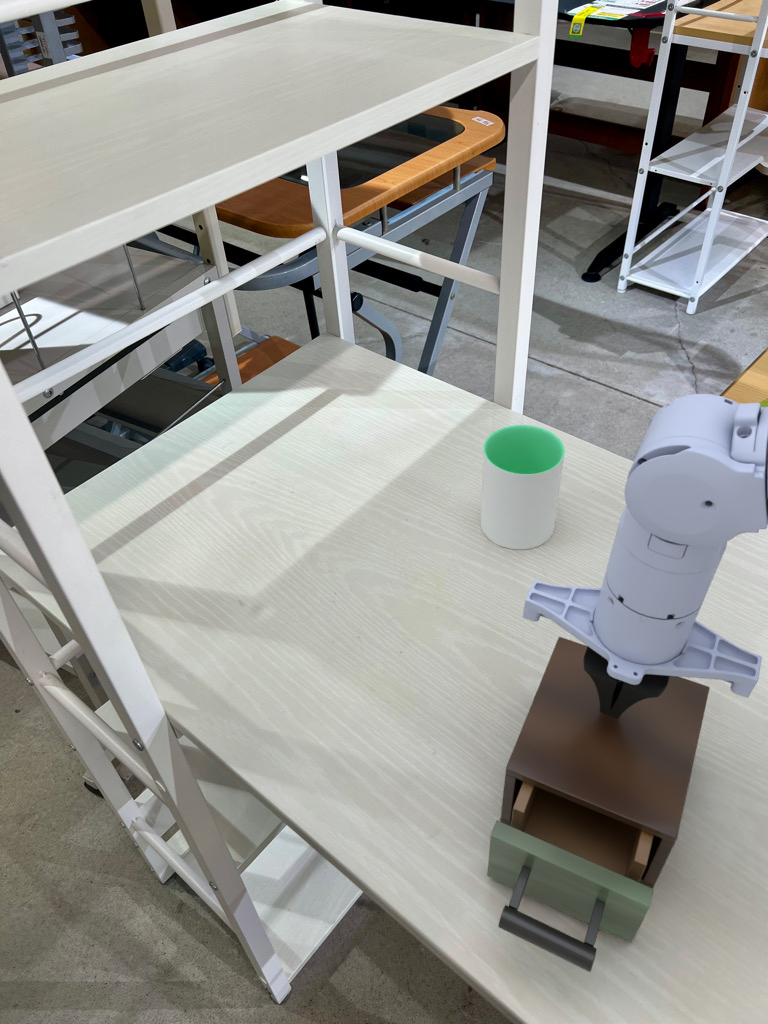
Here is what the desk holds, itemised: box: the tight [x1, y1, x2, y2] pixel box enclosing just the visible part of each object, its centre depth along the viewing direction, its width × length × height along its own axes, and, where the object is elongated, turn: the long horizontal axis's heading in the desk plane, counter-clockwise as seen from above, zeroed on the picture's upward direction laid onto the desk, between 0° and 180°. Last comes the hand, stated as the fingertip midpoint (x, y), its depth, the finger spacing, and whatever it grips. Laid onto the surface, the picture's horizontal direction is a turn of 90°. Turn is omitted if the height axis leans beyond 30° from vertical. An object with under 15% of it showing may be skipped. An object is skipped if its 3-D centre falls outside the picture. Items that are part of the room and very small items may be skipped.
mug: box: [480, 424, 566, 550], centre depth 80 cm, size 12×8×10 cm
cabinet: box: [499, 636, 711, 890], centre depth 57 cm, size 13×12×9 cm
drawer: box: [486, 781, 654, 973], centre depth 52 cm, size 16×10×7 cm, turn 153°
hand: (612, 704), depth 54 cm, fingers closed
